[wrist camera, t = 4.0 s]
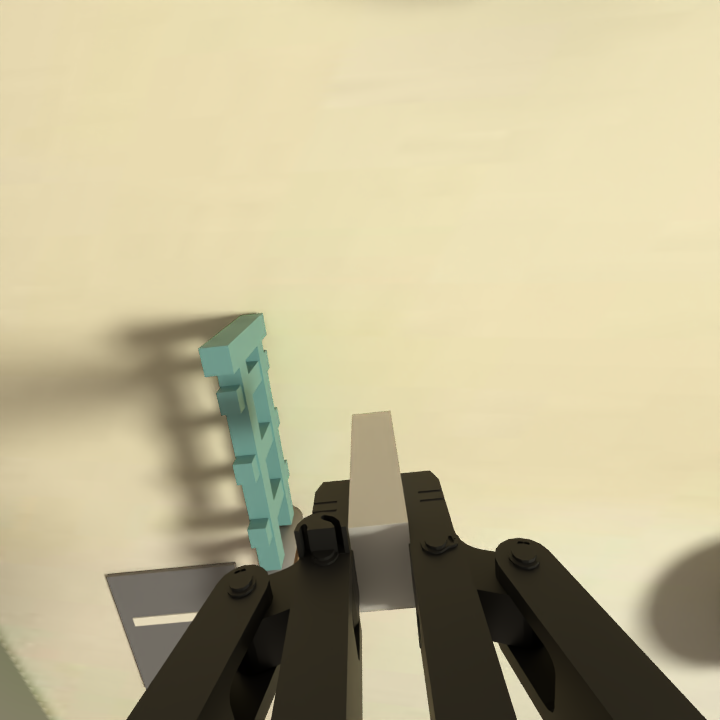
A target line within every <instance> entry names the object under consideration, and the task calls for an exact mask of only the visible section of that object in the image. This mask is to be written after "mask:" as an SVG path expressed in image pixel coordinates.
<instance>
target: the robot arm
mask: <svg viewBox="0 0 720 720" xmlns="http://www.w3.org/2000/svg"><path fill="white" fill-rule="evenodd" d="M312 513H313V514H312V515H310V516H308V517H306V518H304V519H303V520H301V521H300V522H299V523H298V524H297V526H296V528H295V530H294V535H295V540H296V545H297V551H298V556H299V560H298V561H297V562H296V563H294V564H293V565H291V566H290V567H288V568H286V569H283V570H281V571H278V572H275V573H272V574H270V575H268V572H267V571H266V570H265V569H264V568H263V567H260V566H257V565H244V566H241V567H238V568H235V569H233V570H232V571H230V572H229V573H227V574H225V575H224V576H223V577H222V579H221V580H220V581H219V582H218V583H217V585H216V586H215V588H214V589H213V591H212V592H211V594H210V595H209V597H208V598H207V600H206V601H205V603H204V604H203V606H202V607H201V609H200V610H199V612H198V613H197V615H196V616H195V618H194V619H193V621H192V622H191V624H190V625H189V627H188V628H187V630H186V631H185V633H184V634H183V636H182V637H181V639H180V640H179V642H178V643H177V645H176V646H175V648H174V649H173V651H172V652H171V654H170V655H169V657H168V658H167V660H166V661H165V663H164V664H163V666H162V667H161V669H160V670H159V672H158V673H157V675H156V676H155V678H154V679H153V681H152V682H151V684H150V685H149V687H148V688H147V690H146V691H145V693H144V694H143V696H142V697H141V699H140V700H139V702H138V703H137V705H136V706H135V708H134V709H133V711H132V712H131V714H130V715H129V717H128V718H127V720H265V718H266V715H267V713H268V710H269V708H270V705H271V703H272V700H273V698H274V695H275V700H274V706H273V712H272V717H271V720H362V630H361V623H360V616H359V605H360V612H371V611H382V610H393V609H404V608H415V607H416V615H417V625H418V635H419V645H420V648H421V654H422V661H423V668H424V675H425V683H426V690H427V697H428V704H429V711H430V719H431V720H517V718H516V715H515V712H514V709H513V705H512V702H511V699H510V696H509V692H508V689H507V686H506V683H505V680H504V676H503V673H502V670H501V667H500V663H499V660H498V657H497V654H496V651H495V647H494V644H493V642H498V643H499V646H500V649H501V650H502V652H503V654H504V655H505V657H506V659H507V660H508V662H509V664H510V665H511V667H512V669H513V670H514V672H515V674H516V675H517V677H518V679H519V680H520V682H521V684H522V685H523V687H524V689H525V690H526V692H527V694H528V695H529V697H530V699H531V700H532V702H533V704H534V705H535V707H536V709H537V710H538V712H539V714H540V715H541V717H542V719H543V720H706V718H705V717H704V716H703V715H702V714H701V713H700V712H699V711H698V710H697V709H696V708H695V707H694V706H693V705H692V703H691V702H690V701H689V700H688V699H687V698H686V697H685V696H684V695H683V694H682V693H681V692H680V691H679V690H678V688H677V687H676V686H675V685H674V684H673V683H672V682H671V681H670V680H669V679H668V678H667V677H666V676H665V675H664V673H663V672H662V671H661V670H660V669H659V668H658V667H657V666H656V665H655V664H654V663H653V662H652V661H651V660H650V658H649V657H648V656H647V655H646V654H645V653H644V652H643V651H642V650H641V649H640V648H639V647H638V646H637V645H636V643H635V642H634V641H633V640H632V639H631V638H630V637H629V636H628V635H627V634H626V633H625V632H624V631H623V630H622V628H621V627H620V626H619V625H618V624H617V623H616V622H615V621H614V620H613V619H612V618H611V617H610V616H609V615H608V613H607V612H606V611H605V610H604V609H603V608H602V607H601V606H600V605H599V604H598V603H597V602H596V601H595V600H594V598H593V597H592V596H591V595H590V594H589V593H588V592H587V591H586V590H585V589H584V588H583V587H582V586H581V584H580V583H579V582H578V581H577V580H576V579H575V578H574V577H573V576H572V575H571V574H570V573H569V572H568V571H567V569H566V568H565V567H564V566H563V565H562V564H561V563H560V562H559V561H558V560H557V559H556V558H555V557H554V556H553V554H552V553H551V552H550V551H549V550H548V549H546V548H545V547H544V546H542V545H541V544H540V543H537V542H535V541H532V540H530V539H523V538H514V539H508V540H506V541H504V542H502V543H500V544H499V546H498V547H497V548H496V552H494V551H487V550H481V549H477V548H474V547H471V546H469V545H467V544H465V543H464V542H463V541H461V540H460V538H459V537H458V535H457V534H456V533H455V531H454V528H453V525H452V522H451V518H450V515H449V512H448V508H447V505H446V502H445V499H444V495H443V492H442V488H441V485H440V482H439V479H438V478H437V477H436V476H435V475H434V474H433V473H432V472H431V471H420V472H410V473H400V468H399V462H398V455H397V449H396V443H395V437H394V430H393V424H392V418H391V412H390V411H383V412H373V413H364V414H354V415H352V431H351V459H350V480H342V481H332V482H323V483H322V485H321V486H320V487H319V488H318V490H317V491H316V492H315V498H314V505H313V511H312ZM275 693H276V694H275Z"/></svg>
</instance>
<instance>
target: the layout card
mask: <svg viewBox="0 0 720 720" xmlns="http://www.w3.org/2000/svg"><path fill="white" fill-rule="evenodd" d="M235 568H237V567H236V563H235V562H233V563H223V564H212V565H202V566H191V567H181V568H170V569H160V570H149V571H139V572H128V573H118V574H108V576H107V577H106V578H107V581H108V583H109V586H110V589H111V592H112V595H113V598H114V600H115V603H116V606H117V609H118V612H119V614H120V617H121V620H122V623H123V626H124V629H125V631H126V634H127V637H128V640H129V643H130V645H131V648H132V651H133V654H134V657H135V660H136V662H137V665H138V668H139V671H140V674H141V677H142V679H143V682H144V685H145V688H146V690H147V688H148V687H149V685H150V684H151V682H152V681H153V679H154V678H155V676H156V675H157V673H158V672H159V670H160V669H161V667H162V666H163V664H164V663H165V661H166V660H167V658H168V657H169V655H170V654H171V652H172V651H173V649H174V648H175V646H176V645H177V643H178V642H179V640H180V639H181V637H182V636H183V634H184V633H185V631H186V630H187V628H188V627H189V625H190V624H191V622H192V621H193V619H194V618H195V616H196V615H197V613H198V612H199V610H200V609H201V607H202V606H203V604H204V603H205V601H206V600H207V598H208V597H209V595H210V594H211V592H212V591H213V589H214V588H215V586H216V585H217V583H218V582H219V581H220V580H221V579H222V577H223V576H224V575H225V574H227V573H229V572H230V571H232V570H233V569H235Z"/></svg>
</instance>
